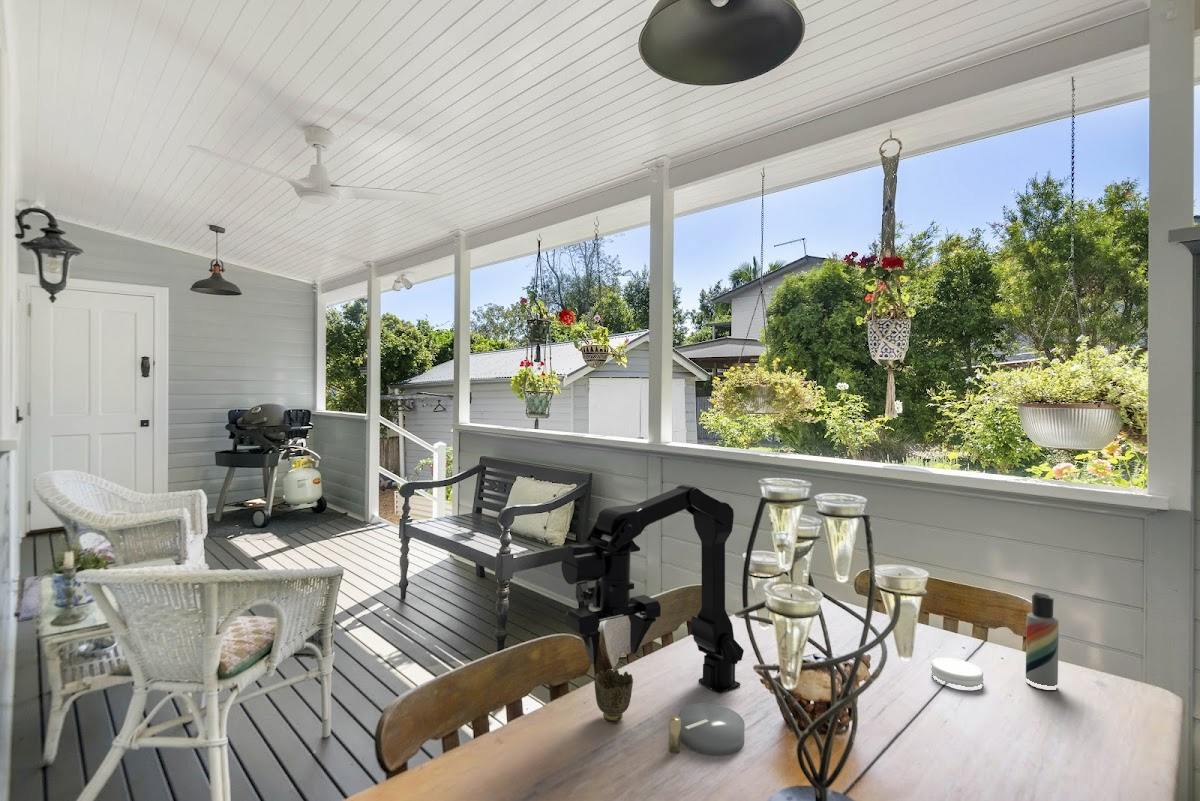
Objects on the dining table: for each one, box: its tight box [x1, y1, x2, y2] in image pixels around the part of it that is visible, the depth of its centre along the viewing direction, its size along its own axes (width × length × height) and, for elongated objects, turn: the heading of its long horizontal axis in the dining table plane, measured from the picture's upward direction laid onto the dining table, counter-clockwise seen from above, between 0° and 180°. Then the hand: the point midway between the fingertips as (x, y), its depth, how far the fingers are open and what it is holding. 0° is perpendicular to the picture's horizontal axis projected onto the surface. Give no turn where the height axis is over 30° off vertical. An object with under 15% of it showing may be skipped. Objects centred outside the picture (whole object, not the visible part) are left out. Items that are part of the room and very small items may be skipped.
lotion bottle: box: [1025, 592, 1060, 686], centre depth 132 cm, size 6×6×20 cm
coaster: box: [930, 657, 984, 687], centre depth 134 cm, size 10×10×4 cm
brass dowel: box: [668, 715, 681, 755], centre depth 104 cm, size 2×2×6 cm
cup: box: [593, 668, 634, 724], centre depth 114 cm, size 8×7×8 cm
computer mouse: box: [676, 702, 746, 757], centre depth 109 cm, size 12×12×3 cm
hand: (613, 658), depth 114 cm, fingers open, 9 cm apart
